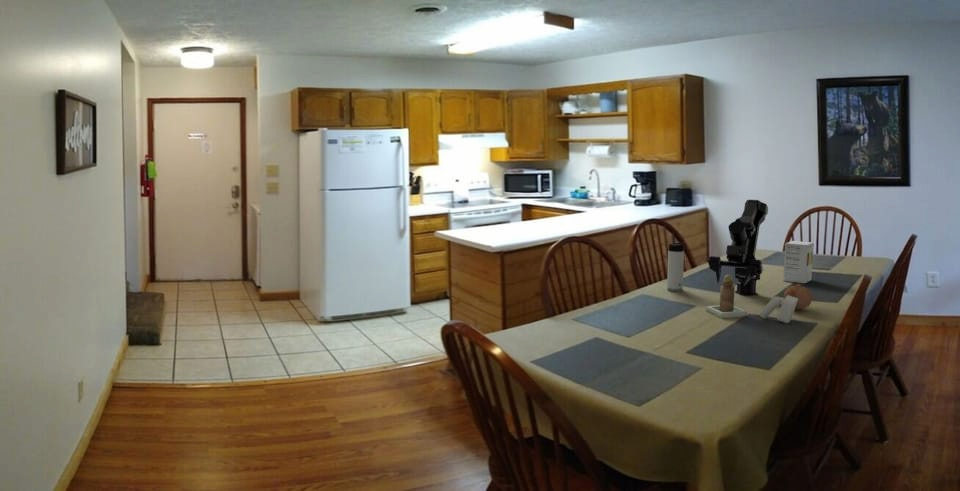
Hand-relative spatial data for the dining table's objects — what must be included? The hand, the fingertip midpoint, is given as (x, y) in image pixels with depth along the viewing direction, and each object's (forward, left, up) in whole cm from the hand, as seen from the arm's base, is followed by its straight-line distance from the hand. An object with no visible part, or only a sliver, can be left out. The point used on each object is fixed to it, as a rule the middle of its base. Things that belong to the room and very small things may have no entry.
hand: (730, 283), depth 251 cm
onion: (-23, +7, -10) cm, 26 cm away
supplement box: (-56, -36, -10) cm, 68 cm away
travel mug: (+3, -35, -10) cm, 37 cm away
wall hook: (-8, +16, -10) cm, 21 cm away
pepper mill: (+4, +4, -9) cm, 11 cm away
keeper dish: (+4, +4, -10) cm, 11 cm away
